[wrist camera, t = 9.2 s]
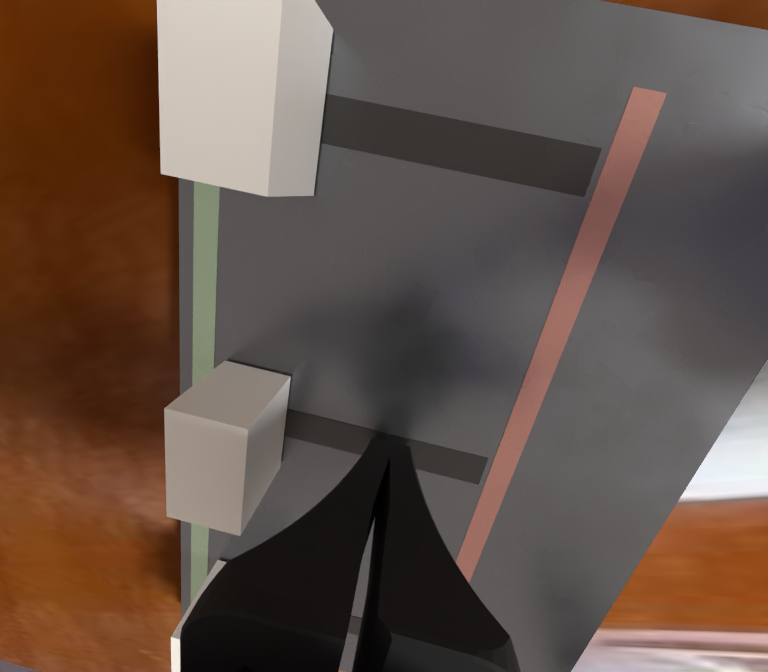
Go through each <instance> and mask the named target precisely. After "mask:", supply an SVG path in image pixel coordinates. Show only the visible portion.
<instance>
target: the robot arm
mask: <svg viewBox="0 0 768 672" xmlns="http://www.w3.org/2000/svg"><path fill="white" fill-rule="evenodd" d="M374 518H375V520H374ZM373 522H374V529H373V539H372V548H371V558H370V567H369V577H368V586H367V593H366V600H365V605H364V610H363V615H362V621H361V626H360V631H359V636H358V641H357V646H356V652H355V657H354V662H353V667H352V672H521V671H520V667H519V663H518V660H517V656H516V653H515V649H514V646H513V643H512V640H511V637H510V635H509V634H508V633H507V632H506V631H505V629H504V628H503V627H502V626H501V625H500V623H499V622H498V621H497V620H496V619H495V617H494V616H493V615H492V614H491V613H490V611H489V610H488V609H487V608H486V606H485V605H484V604H483V603H482V601H481V600H480V599H479V597H478V596H477V594H476V593H475V592H474V590H473V589H472V587H471V586H470V584H469V583H468V581H467V580H466V578H465V576H464V575H463V573H462V572H461V570H460V569H459V567H458V565H457V564H456V562H455V561H454V559H453V557H452V555H451V554H450V552H449V550H448V548H447V546H446V545H445V543H444V541H443V539H442V537H441V535H440V533H439V531H438V529H437V527H436V524H435V522H434V520H433V518H432V515H431V513H430V510H429V508H428V505H427V503H426V500H425V497H424V494H423V491H422V488H421V485H420V482H419V479H418V475H417V471H416V468H415V463H414V458H413V451H412V449H411V447H410V446H407V445H403V444H399V443H395V442H391V441H387V440H383V439H379V438H373V439H371V440H370V443H369V445H368V446H367V448H366V450H365V451H364V453H363V454H362V456H361V457H360V459H359V460H358V461H357V463H356V464H355V465H354V466H353V467H352V469H351V470H350V471H349V472H348V474H347V475H346V476H345V477H344V478H343V479H342V480H341V481H340V482H339V483H338V484H337V485H336V487H335V488H334V489H333V490H332V491H331V492H330V493H329V494H328V495H326V496H325V497H324V498H323V499H322V500H321V501H320V502H319V503H318V504H316V505H315V506H314V507H313V508H312V509H311V510H309V511H308V512H307V513H305V514H304V515H303V516H302V517H300V518H299V519H298V520H296V521H295V522H294V523H292V524H291V525H289V526H288V527H286V528H285V529H283V530H282V531H280V532H279V533H277V534H275V535H274V536H272V537H271V538H269V539H268V540H266V541H264V542H263V543H261V544H259V545H257V546H256V547H254V548H252V549H250V550H248V551H246V552H244V553H242V554H240V555H238V556H237V557H235V558H233V559H231V560H229V561H228V562H227V563H226V564H225V565H224V566H223V568H222V569H221V570H220V571H219V572H218V573H217V575H216V576H215V577H214V578H213V580H212V581H211V582H210V583H209V585H208V586H207V588H206V589H205V590H204V592H203V593H202V594H201V596H200V597H199V599H198V600H197V602H196V604H195V606H194V607H193V609H192V611H191V612H190V614H189V616H188V618H187V619H186V621H185V623H184V624H183V626H182V629H181V634H180V672H338V670H339V666H340V662H341V658H342V654H343V650H344V646H345V642H346V637H347V632H348V627H349V623H350V618H351V613H352V608H353V602H354V597H355V592H356V587H357V582H358V577H359V571H360V566H361V561H362V557H363V554H364V551H365V547H366V544H367V541H368V538H369V534H370V531H371V528H372V525H373ZM0 672H39V671H35V670H32V669H29V668H25V667H22V666H19V665H15V664H12V663H9V662H5V661H2V660H0Z"/></svg>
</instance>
